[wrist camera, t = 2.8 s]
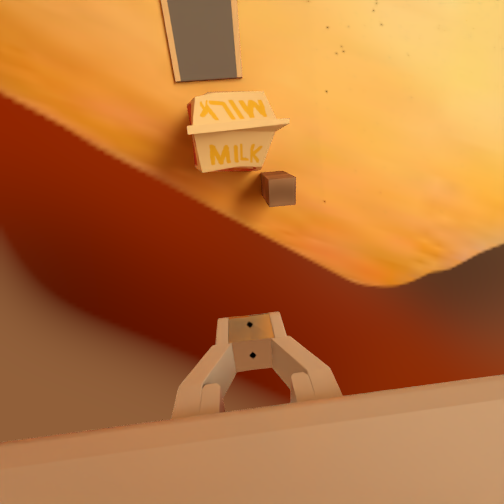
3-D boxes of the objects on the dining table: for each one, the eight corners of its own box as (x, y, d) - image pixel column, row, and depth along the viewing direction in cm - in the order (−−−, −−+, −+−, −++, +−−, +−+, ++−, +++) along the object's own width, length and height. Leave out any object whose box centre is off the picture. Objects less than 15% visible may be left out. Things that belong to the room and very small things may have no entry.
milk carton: (201, 171, 34) (168, 200, 16) (194, 100, 30) (141, 35, 12) (259, 170, 35) (289, 197, 17) (260, 101, 31) (300, 40, 13)
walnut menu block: (260, 172, 35) (268, 179, 28) (282, 170, 35) (295, 177, 28) (262, 195, 37) (269, 206, 30) (282, 193, 37) (295, 204, 30)
